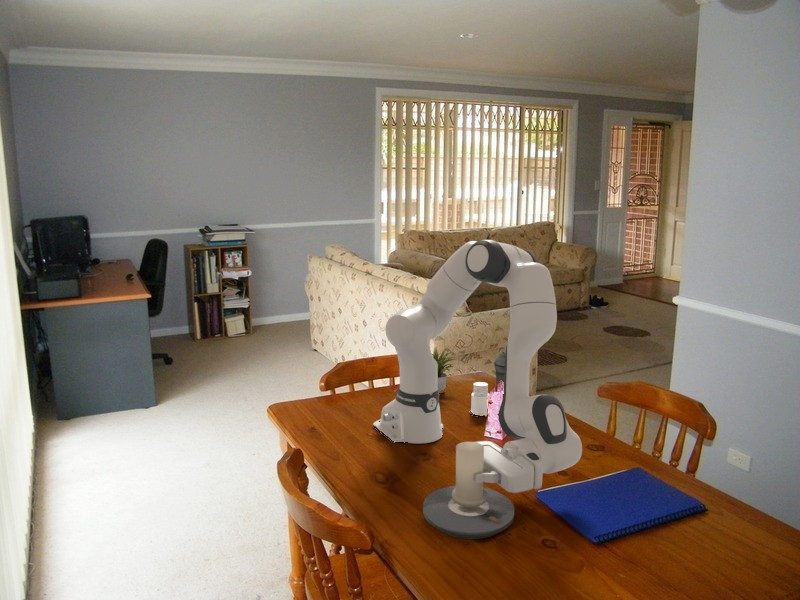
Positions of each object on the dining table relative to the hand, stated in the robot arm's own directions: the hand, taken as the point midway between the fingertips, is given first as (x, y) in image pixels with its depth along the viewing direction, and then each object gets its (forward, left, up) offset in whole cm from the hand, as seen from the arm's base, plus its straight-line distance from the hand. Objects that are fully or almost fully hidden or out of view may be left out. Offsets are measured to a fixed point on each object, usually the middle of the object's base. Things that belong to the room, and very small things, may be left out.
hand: (466, 471), depth 141 cm
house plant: (-69, +54, -12) cm, 88 cm away
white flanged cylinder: (0, +1, -7) cm, 7 cm away
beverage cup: (-52, +70, -12) cm, 88 cm away
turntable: (0, +1, -10) cm, 10 cm away
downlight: (-45, +51, -12) cm, 69 cm away
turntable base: (0, +1, -12) cm, 12 cm away
